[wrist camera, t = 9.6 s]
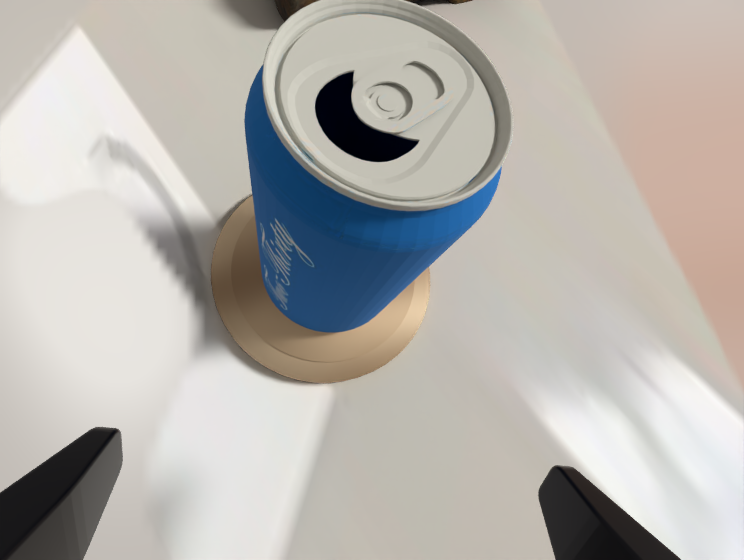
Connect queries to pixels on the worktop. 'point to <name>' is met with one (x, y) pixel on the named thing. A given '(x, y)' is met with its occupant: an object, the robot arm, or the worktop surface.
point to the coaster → (286, 338)
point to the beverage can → (368, 154)
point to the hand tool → (290, 3)
